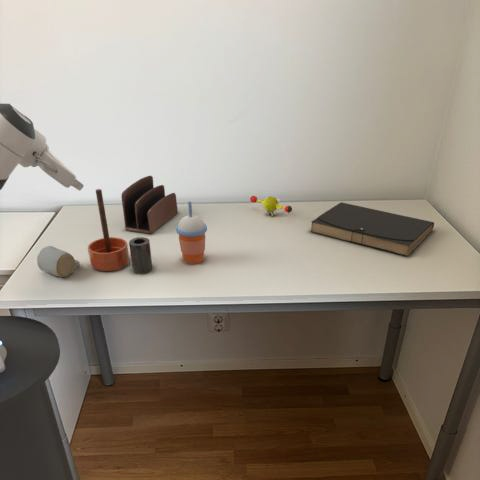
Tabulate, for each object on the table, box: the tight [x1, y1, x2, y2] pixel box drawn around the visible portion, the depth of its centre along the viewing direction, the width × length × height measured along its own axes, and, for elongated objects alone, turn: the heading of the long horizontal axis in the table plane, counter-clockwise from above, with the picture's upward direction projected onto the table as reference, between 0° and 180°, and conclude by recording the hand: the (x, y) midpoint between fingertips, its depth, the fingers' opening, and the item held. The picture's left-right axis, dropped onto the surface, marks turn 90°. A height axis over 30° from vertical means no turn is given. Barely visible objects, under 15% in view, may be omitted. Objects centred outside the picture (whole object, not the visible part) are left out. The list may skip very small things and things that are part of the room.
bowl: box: [87, 236, 130, 272], centre depth 151 cm, size 11×11×6 cm
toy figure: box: [249, 195, 293, 217], centre depth 181 cm, size 18×6×7 cm, turn 49°
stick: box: [95, 188, 112, 253], centre depth 146 cm, size 2×2×22 cm
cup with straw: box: [175, 201, 208, 265], centre depth 150 cm, size 9×9×18 cm
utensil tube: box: [128, 236, 154, 275], centre depth 147 cm, size 6×6×9 cm
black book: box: [310, 201, 435, 257], centre depth 169 cm, size 33×4×24 cm
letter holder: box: [121, 175, 179, 235], centre depth 176 cm, size 10×20×14 cm, turn 159°
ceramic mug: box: [36, 245, 80, 278], centre depth 147 cm, size 11×8×8 cm
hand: (74, 181), depth 131 cm, fingers open, 8 cm apart
